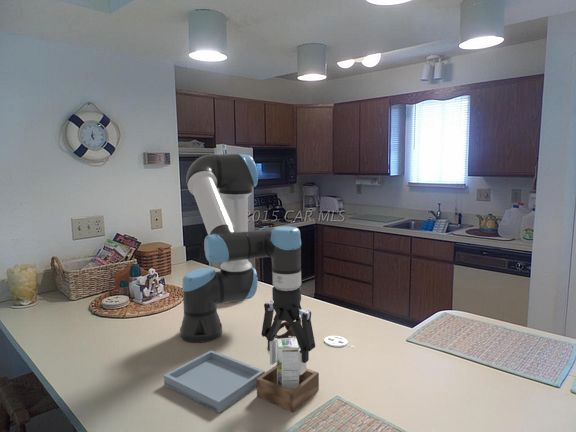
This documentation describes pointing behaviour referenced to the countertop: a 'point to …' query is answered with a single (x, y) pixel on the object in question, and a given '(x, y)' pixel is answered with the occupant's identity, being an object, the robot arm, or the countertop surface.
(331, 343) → the pendant
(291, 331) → the brown curved piece
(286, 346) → the syrup box
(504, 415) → the countertop surface
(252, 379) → the grey tray
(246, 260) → the robot arm
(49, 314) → the countertop surface
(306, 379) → the wooden cube shelf
